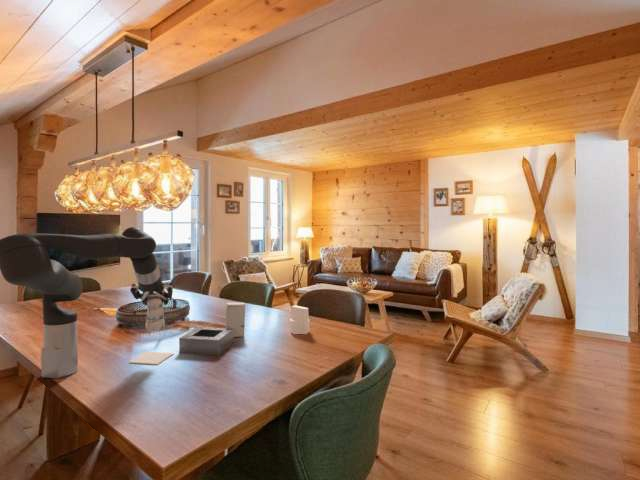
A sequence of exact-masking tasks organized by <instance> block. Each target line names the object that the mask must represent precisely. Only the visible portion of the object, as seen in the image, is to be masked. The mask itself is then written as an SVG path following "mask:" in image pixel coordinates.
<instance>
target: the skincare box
mask: <svg viewBox="0 0 640 480" xmlns="http://www.w3.org/2000/svg"><path fill="white" fill-rule="evenodd" d="M225 305H226V310H225V314H226V315H225V328H230V329H234V338H237V337H238V338H239V337H240V338H241V337H245V325H246V324H245V317H246V303H245V302H242V301H241V302H239V301H238V302H236V301H235V302H226V304H225Z"/></svg>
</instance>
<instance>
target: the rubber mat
mask: <svg viewBox="0 0 640 480" xmlns="http://www.w3.org/2000/svg"><path fill="white" fill-rule="evenodd" d="M174 355H175V353H174V352H161V351H160V352H159V351H158V352H157V351H155V352H154V351H146V352H144V353H142V354H141V355H139V356H137V357H136V358H134V359H132V360H130V361H128V364H135V365H137V364H138V365H154V366H155V365H156V366H158V365H160V364H161V363H163V362H165V361H166V360H167V359H168V358H171V357H172V356H174Z"/></svg>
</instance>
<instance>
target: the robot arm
mask: <svg viewBox="0 0 640 480" xmlns="http://www.w3.org/2000/svg"><path fill="white" fill-rule="evenodd" d="M156 249H157V243H156V240H155V239H154V238H153V237H152V236H151V235H149V233H147V232H145V231H144V230H142V229H141V228H139V227H136V226H130V227H128V228H126V229H124V231H123V232H122V234H121V233H120V234H119V233H115V232H113V233H112V232H111V233H101V234H91V235H90V234H89V235H87V234H86V235H84V234H83V235H80V234H64V233H62V234H61V233H40V232H39V233H37V232H36V233H35V232H31V233H30V232H29V233H28V232H27V233H26V232H25V233H17V234H12V235H8V236H6V237H2V238H1V239H0V272H1V275H2V277H3V279H4V280H5V281H6V283H9V284H10V285H11V284H12V285H14V286H20V287H27V288H29V289H32V290H33V291H35V292H37V293H40V294H41V301H42V317H43V318H42V319H43V347H42V348H41V349H40V356H41V357H40V359H41V360H40V361H41V362H40V363H41V365H40V366H41V378H45V379H46V378H49V379H51V378H52V379H60V378H63V377H67V376H71V375H73V374H74V373H77V372H78V370H79V356H78V355H79V354H78V353H79V349H78V347H79V346H78V345H79V344H78V313H77V311H75V310H73V309H69V308H68V309H67V308H64V307H62V306H60V305H59V304H58V303H59V302H64V303H65V302H73V301H77V300H78V299H79V298H80V297H81V295H82V294H83V293H82V292H83V286H84V285H83V281H82V279H81V277H80V276H79V274H77V273H74V272H72V271H70V270H69V269H67V268H66V267H65V266H64V265H63V264H62V263H61V262H59V261H56V260H54V259H50V256H49V253H48V250H56V251H60V252H66V253H68V254H71V255H74V256H77V257H79V258H83V259H86V260H93V261H100V260H107V259H111V258H112V259H113V258H119V257H120V258H125V259H126V258H129V259H130V261H131V263H132V267H133V270H134V275H135V279H136V282H137V285H136V284H135V283H132V284H131V286H130V287H131V288H130V293H131V294H132V296H133V297H134V299H135V300H140V301H142V304H143V305H144V306H147V300H146V296H147V295H157V296H159V297H161V298H163V306H167V304H168V303H169V300H171V299H172V298H173V289H174V288H173V283H169V284H168V285H166V284H164V283H163V279H162V276H161V270H160V268H159V265H158V263H157V260H156V257H155V254H154V252H155V250H156ZM141 292H142V293H141Z"/></svg>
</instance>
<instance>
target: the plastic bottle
mask: <svg viewBox="0 0 640 480" xmlns="http://www.w3.org/2000/svg"><path fill="white" fill-rule="evenodd" d="M146 300H147V305H146V306H147V307H146V308H147V309H146V310H147V311H146V319H145V320H146V321H145V330H146V331H147V332H149V333H157V332H162V331H163V330H164V329H165V326H166V323H165V321H166V320H165V318H164V302H163V298H161V297H159V296H157V295H147V296H146Z"/></svg>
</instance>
